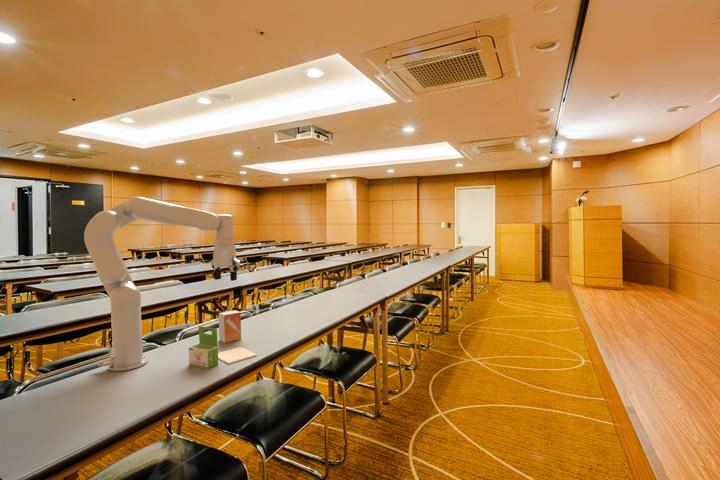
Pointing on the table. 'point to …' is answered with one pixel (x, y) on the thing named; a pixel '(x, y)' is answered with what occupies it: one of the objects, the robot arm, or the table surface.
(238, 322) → the small box
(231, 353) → the mat
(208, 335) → the ink box
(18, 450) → the table surface
